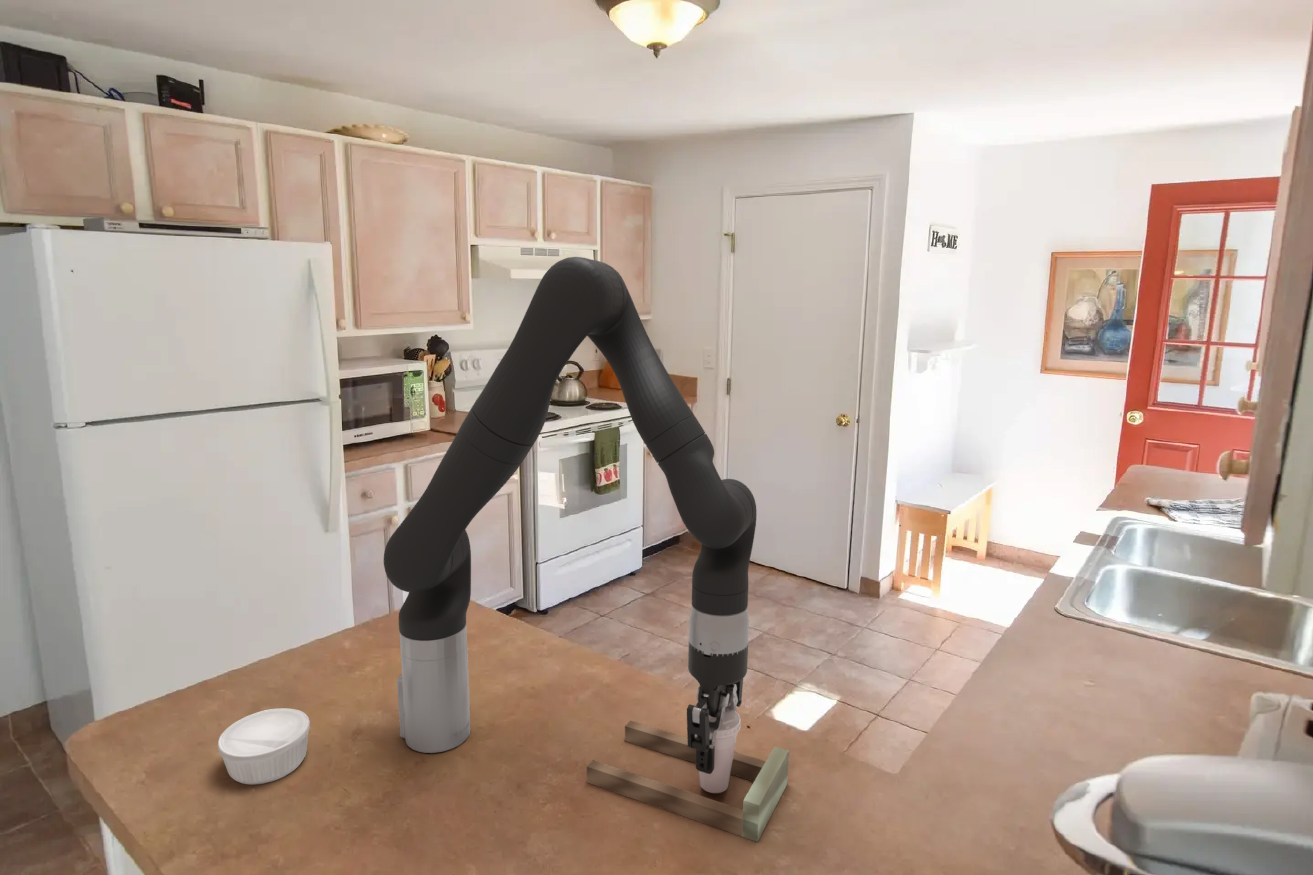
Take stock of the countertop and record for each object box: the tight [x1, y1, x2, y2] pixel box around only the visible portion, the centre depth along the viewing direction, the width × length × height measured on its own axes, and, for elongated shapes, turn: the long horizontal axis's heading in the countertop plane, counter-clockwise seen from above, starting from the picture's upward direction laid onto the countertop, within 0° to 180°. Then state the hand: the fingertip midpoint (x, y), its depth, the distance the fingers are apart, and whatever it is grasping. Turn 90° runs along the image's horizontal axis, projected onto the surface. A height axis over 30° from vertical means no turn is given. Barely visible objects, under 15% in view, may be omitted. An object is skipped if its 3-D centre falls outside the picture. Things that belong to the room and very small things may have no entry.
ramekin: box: [217, 707, 311, 786], centre depth 104 cm, size 11×11×5 cm
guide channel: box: [586, 720, 790, 843], centre depth 101 cm, size 24×12×5 cm, turn 64°
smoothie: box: [698, 708, 742, 794], centre depth 99 cm, size 6×6×14 cm
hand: (714, 755), depth 99 cm, fingers closed on smoothie, 6 cm apart
